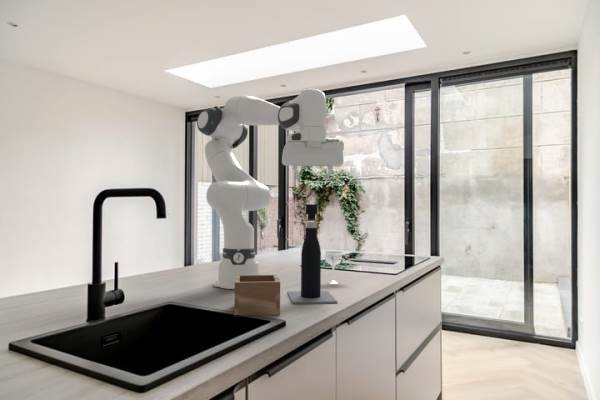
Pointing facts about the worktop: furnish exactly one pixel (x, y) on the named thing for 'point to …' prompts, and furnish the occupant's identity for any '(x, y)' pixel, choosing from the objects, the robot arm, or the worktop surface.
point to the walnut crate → (257, 295)
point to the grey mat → (323, 299)
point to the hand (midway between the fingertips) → (312, 179)
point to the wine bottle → (311, 258)
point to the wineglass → (333, 261)
